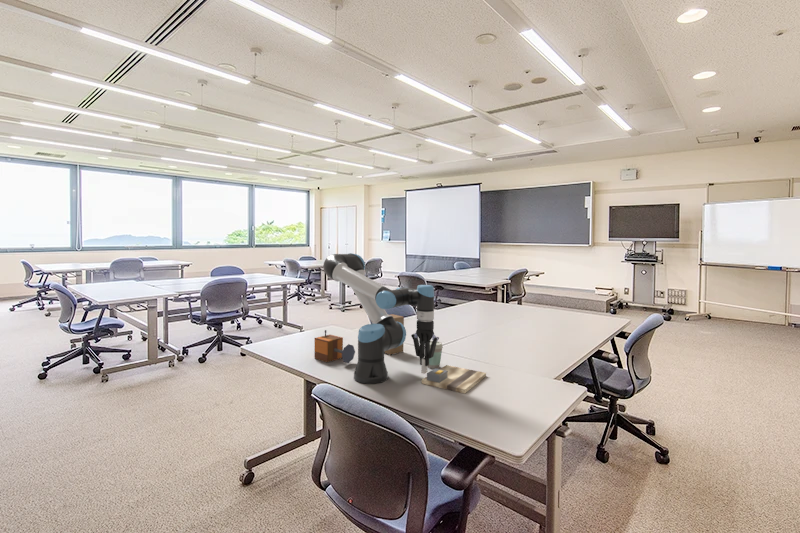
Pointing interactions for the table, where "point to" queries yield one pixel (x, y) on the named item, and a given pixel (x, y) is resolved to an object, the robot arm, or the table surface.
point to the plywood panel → (457, 379)
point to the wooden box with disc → (332, 349)
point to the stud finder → (437, 375)
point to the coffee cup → (436, 356)
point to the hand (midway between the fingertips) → (424, 372)
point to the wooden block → (400, 348)
